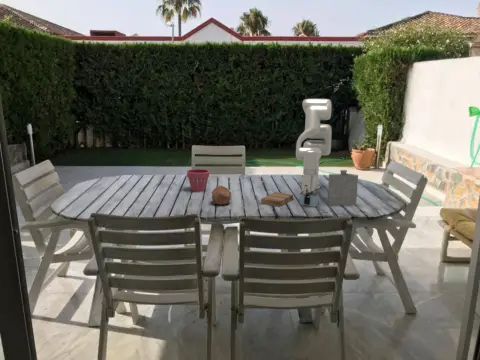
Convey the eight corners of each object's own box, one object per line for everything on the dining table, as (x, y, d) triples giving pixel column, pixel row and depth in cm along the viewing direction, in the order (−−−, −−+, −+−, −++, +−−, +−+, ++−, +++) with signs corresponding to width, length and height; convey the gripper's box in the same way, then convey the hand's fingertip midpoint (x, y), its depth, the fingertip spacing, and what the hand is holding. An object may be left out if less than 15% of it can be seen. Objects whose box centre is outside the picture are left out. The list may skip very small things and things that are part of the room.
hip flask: (327, 204, 230) (329, 170, 226) (327, 202, 234) (328, 169, 230) (356, 205, 228) (358, 171, 224) (355, 203, 232) (357, 169, 228)
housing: (303, 202, 235) (303, 190, 234) (317, 204, 231) (318, 192, 229) (299, 204, 231) (300, 192, 230) (314, 206, 227) (315, 194, 225)
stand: (274, 196, 247) (275, 191, 247) (293, 199, 241) (293, 194, 241) (260, 203, 232) (261, 198, 232) (279, 206, 226) (280, 201, 226)
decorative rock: (211, 200, 239) (211, 184, 237) (230, 200, 240) (230, 183, 238) (211, 206, 227) (211, 189, 224) (231, 206, 227) (231, 189, 225)
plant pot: (211, 187, 270) (210, 168, 267) (207, 193, 256) (207, 173, 253) (190, 187, 271) (189, 168, 268) (185, 192, 257) (184, 172, 255)
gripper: (309, 168, 236) (308, 198, 240) (297, 173, 222) (296, 205, 226) (321, 169, 232) (320, 200, 236) (310, 175, 218) (309, 207, 222)
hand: (308, 202), depth 231 cm, fingers closed on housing, 5 cm apart
